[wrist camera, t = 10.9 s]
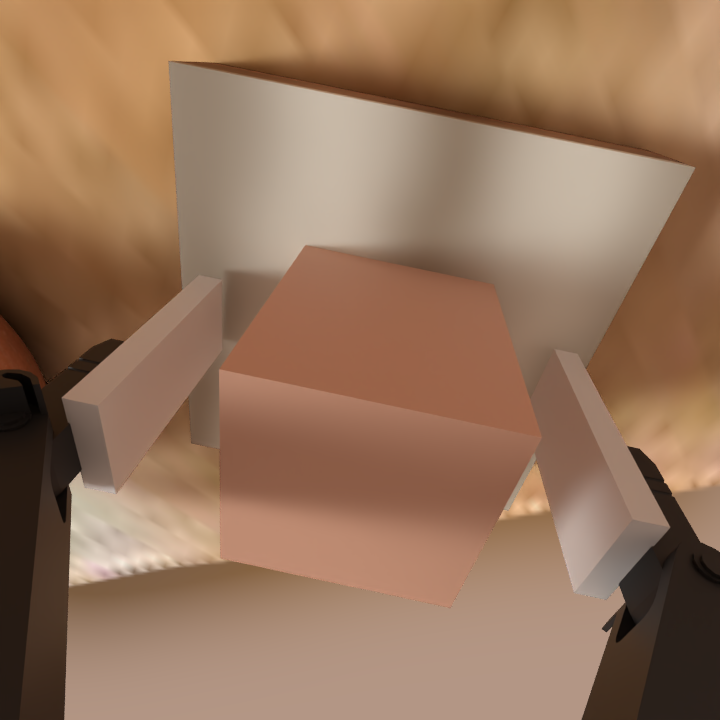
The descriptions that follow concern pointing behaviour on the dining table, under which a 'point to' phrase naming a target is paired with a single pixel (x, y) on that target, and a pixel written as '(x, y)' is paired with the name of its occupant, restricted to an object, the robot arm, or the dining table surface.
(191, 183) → the plinth
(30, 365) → the ceramic jug
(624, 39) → the dining table surface
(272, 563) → the block
